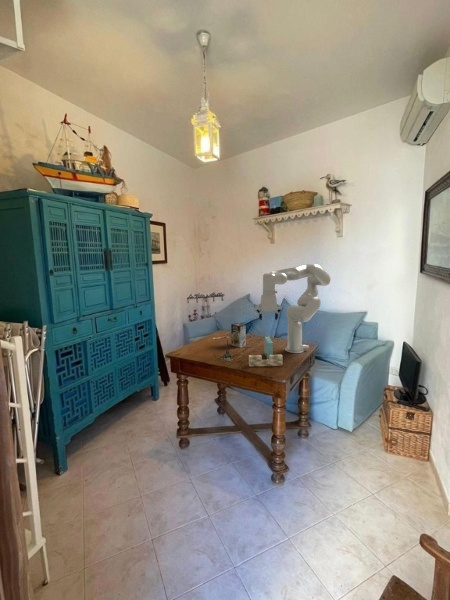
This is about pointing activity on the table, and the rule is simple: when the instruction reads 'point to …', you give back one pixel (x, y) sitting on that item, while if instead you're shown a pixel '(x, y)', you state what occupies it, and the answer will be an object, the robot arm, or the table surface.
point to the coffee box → (238, 335)
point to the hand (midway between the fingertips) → (268, 319)
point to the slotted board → (272, 361)
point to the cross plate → (268, 347)
